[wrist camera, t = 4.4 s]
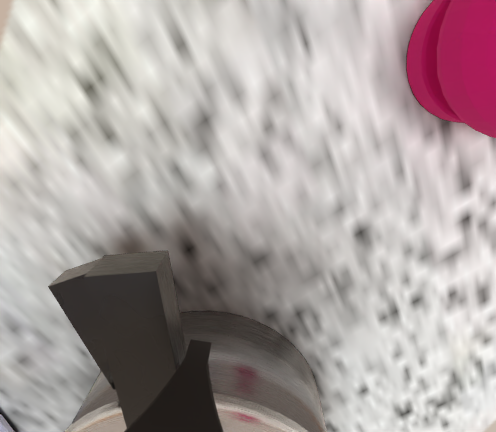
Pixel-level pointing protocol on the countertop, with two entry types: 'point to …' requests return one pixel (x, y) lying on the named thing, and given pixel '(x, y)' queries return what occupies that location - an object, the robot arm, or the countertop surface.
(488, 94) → the pepper mill
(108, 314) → the cooker lid
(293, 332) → the countertop surface
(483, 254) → the countertop surface
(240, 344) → the cooker pot
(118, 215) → the countertop surface
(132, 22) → the countertop surface
